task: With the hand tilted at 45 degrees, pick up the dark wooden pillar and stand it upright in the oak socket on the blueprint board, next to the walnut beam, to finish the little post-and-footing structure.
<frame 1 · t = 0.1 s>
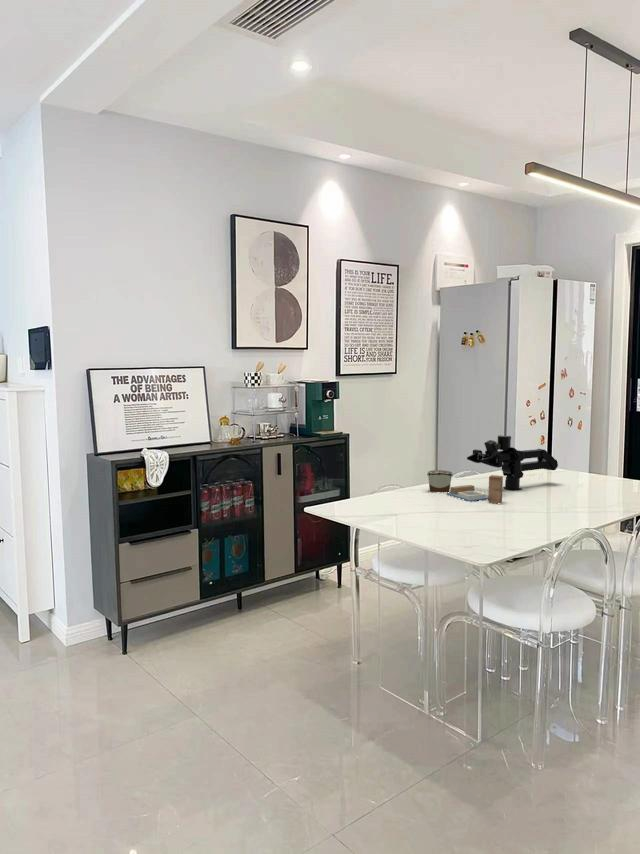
hand: (473, 459, 327), 17 cm above the table, tool horizontal, fingers open, 9 cm apart
food container: (439, 491, 335), on the table
pillar: (495, 502, 311), on the table
blueprint board: (469, 496, 322), on the table
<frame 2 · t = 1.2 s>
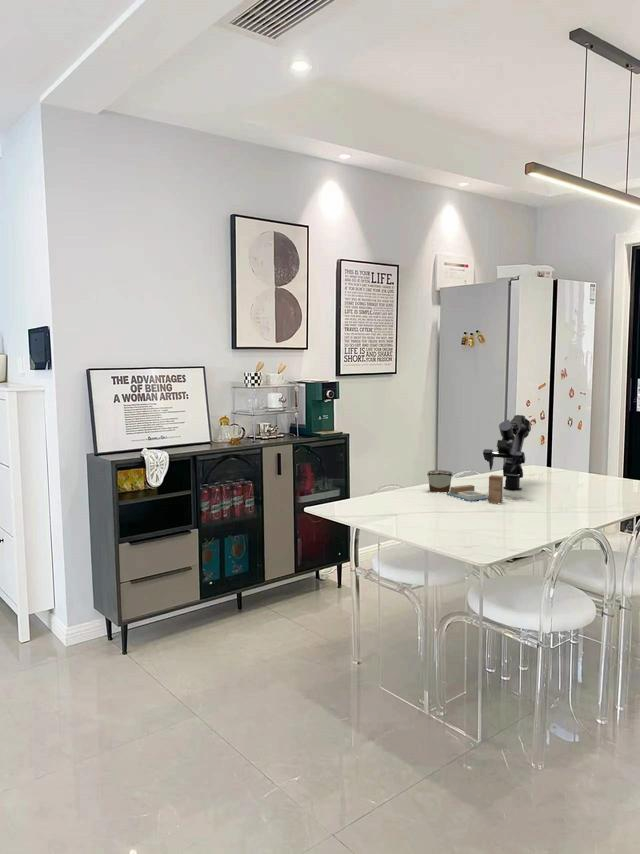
hand: (500, 470, 316), 13 cm above the table, tool tilted 45°, fingers open, 9 cm apart
nothing on the table moved.
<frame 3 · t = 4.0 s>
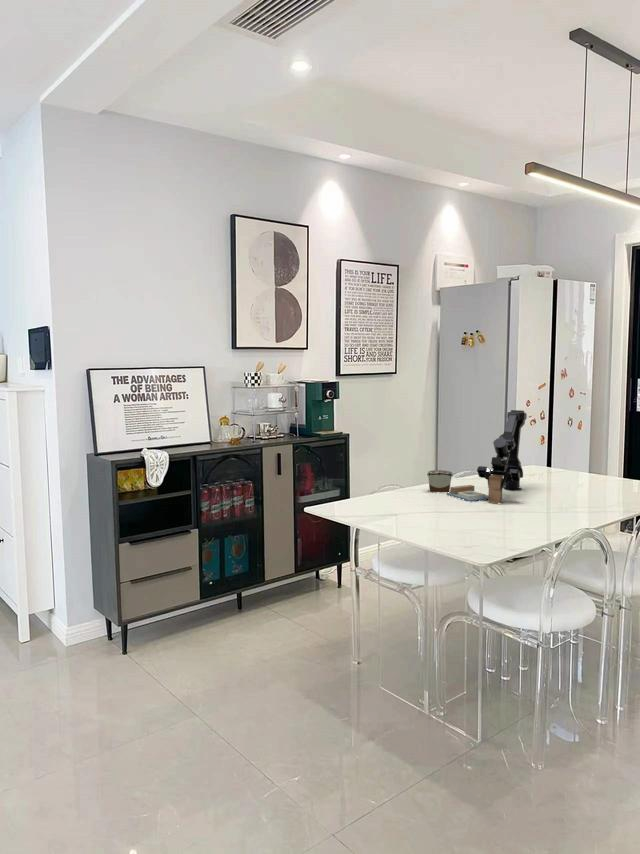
hand: (494, 488, 309), 7 cm above the table, tool tilted 45°, fingers closed on pillar, 5 cm apart
pillar: (495, 502, 311), on the table, touching gripper
everything else where it was.
when the fingers open (9 cm above the table, at t = 8.0 s): pillar drops 2 cm, resting on blueprint board.
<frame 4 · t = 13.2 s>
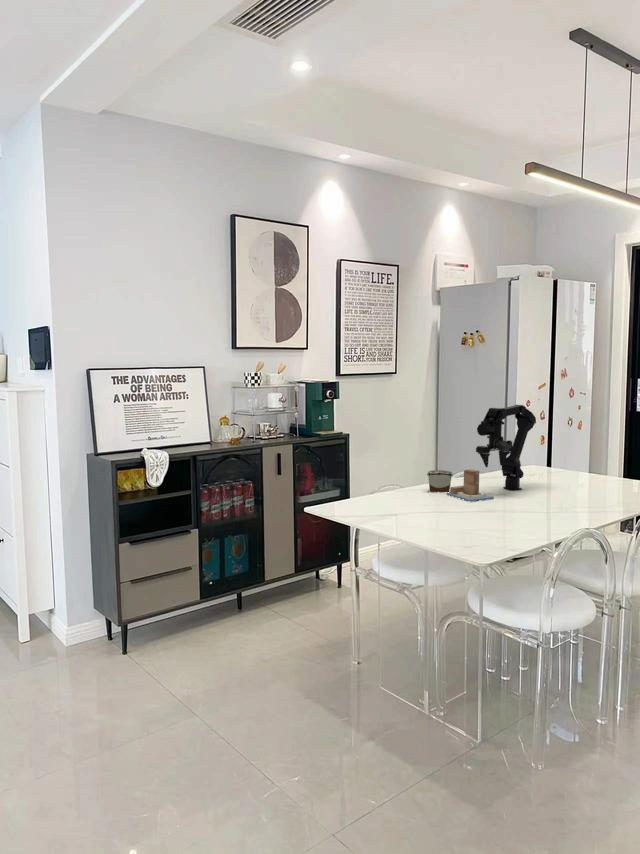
hand: (494, 466, 329), 13 cm above the table, tool pointing down, fingers open, 9 cm apart
pillar: (470, 495, 320), point 1 cm above the table, touching blueprint board
everything else where it was.
at the end: pillar 0.0 cm from the target spot on the blueprint board, point 1.0 cm above the blueprint board's base; pillar tilted 0°; the gripper is holding nothing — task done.
